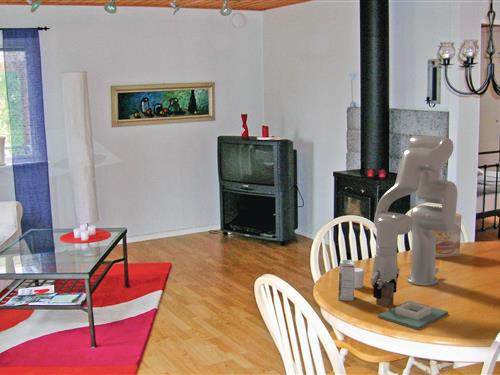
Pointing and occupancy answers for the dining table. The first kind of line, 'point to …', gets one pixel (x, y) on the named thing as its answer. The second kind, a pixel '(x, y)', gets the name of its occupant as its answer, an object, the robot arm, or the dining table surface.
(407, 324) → the socket board
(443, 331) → the dining table surface
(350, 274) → the syrup box
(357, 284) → the white grey cup
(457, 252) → the coffeecake box
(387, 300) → the grey metal plug
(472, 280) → the dining table surface
